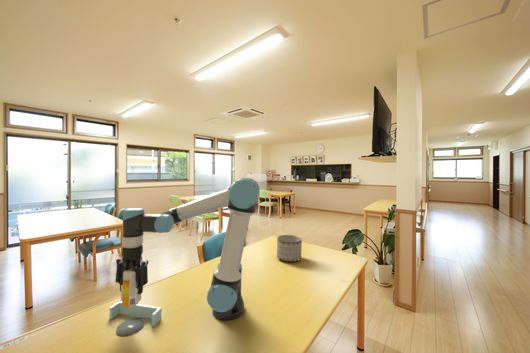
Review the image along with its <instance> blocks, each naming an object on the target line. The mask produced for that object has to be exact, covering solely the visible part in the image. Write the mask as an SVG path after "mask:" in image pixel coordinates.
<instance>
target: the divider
mask: <svg viewBox="0 0 530 353" xmlns="http://www.w3.org/2000/svg"><path fill="white" fill-rule="evenodd" d="M162 308H163V307H162V306H153V305H146V304H139V303H138V304H137V305H136V306H134V307H132V308H124V306H122V301H121V300H119V301H118V302H116V303H114V304H113V305H111V306H110V307H109V315H108V316H109V317H108V318H109V320H112V319H114V318H115V317H116V316H118V315H119V314H120V315H125V316H131V317H136V318H142V319H143V318H144V319H151V326H152V327H154V326H156V325H157V324H158V323H159V322H160V321H161V320H162Z"/></svg>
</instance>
